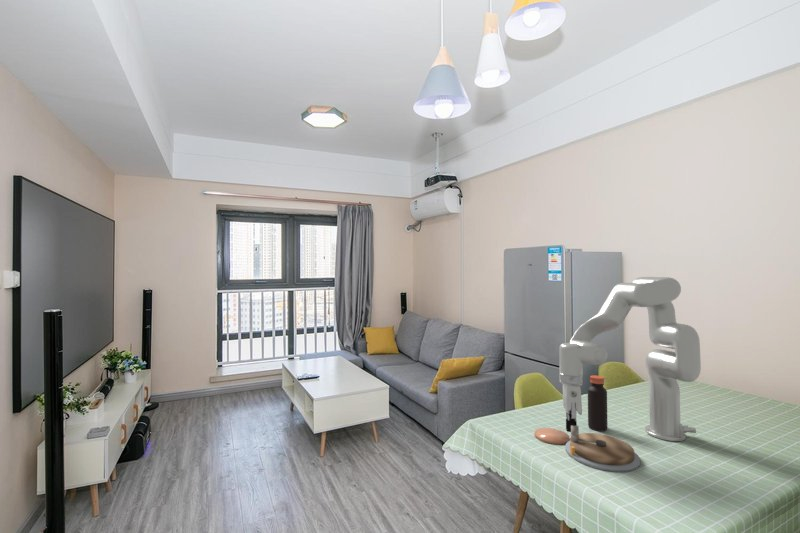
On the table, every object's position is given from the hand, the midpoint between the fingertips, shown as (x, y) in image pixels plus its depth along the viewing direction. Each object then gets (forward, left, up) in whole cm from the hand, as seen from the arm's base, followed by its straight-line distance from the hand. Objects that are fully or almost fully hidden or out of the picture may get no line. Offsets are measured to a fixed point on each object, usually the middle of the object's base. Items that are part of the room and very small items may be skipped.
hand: (571, 431), depth 134 cm
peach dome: (+6, -6, -5) cm, 10 cm away
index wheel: (-8, +5, -4) cm, 10 cm away
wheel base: (-8, +5, -5) cm, 11 cm away
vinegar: (-13, -19, -6) cm, 24 cm away
